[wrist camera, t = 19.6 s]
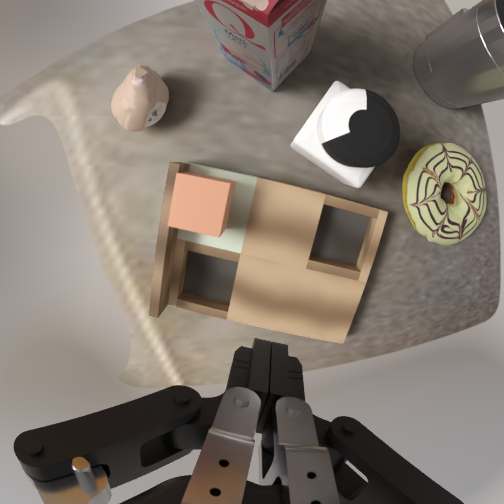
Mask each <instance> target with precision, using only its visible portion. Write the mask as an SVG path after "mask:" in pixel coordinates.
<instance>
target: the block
mask: <svg viewBox="0 0 504 504" xmlns="http://www.w3.org/2000/svg"><path fill="white" fill-rule="evenodd" d="M235 184H236V181H233V180H228V179H223V178H219V177H214V176H209V175H204V174H199V173H193V172H179V173H177V174H176V179H175V184H174V190H173V196H172V202H171V208H170V214H169V220H168V226H170V227H174V228H179V229H183V230H188V231H192V232H196V233H201V234H205V235H209V236H214V237H218V238H220V236H221V235H222V234H223V232H224V231H225V230H226V227H227V222H228V217H229V213H230V208H231V203H232V198H233V194H234V189H235Z"/></svg>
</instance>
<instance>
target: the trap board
mask: <svg viewBox="0 0 504 504" xmlns="http://www.w3.org/2000/svg"><path fill="white" fill-rule="evenodd" d="M179 172H193V173H199V174H204V175H209V176H214V177H219V178H223V179H228V180H233V181H236V184H235V189H234V194H233V198H232V203H231V208H230V213H229V217H228V222H227V227H226V230H225V231H224V232H223V234H222V235H221V236H220V238H218V237H214V236H209V235H205V234H201V233H196V232H192V231H188V230H183V229H179V228H174V227H170V226H168V220H169V214H170V208H171V202H172V196H173V190H174V184H175V179H176V174H177V173H179ZM387 214H388V212H387V211H384V210H382V209H380V208H376V207H373V206H370V205H366V204H363V203H359V202H356V201H352V200H349V199H345V198H342V197H338V196H334V195H331V194H327V193H323V192H319V191H315V190H311V189H308V188H304V187H300V186H296V185H292V184H287V183H283V182H279V181H275V180H270V179H266V178H262V177H257V176H253V175H248V174H244V173H239V172H234V171H229V170H224V169H220V168H215V167H209V166H204V165H199V164H194V163H188V162H170V164H169V169H168V175H167V180H166V186H165V192H164V198H163V204H162V210H161V217H160V224H159V231H158V238H157V245H156V253H155V262H154V270H153V280H152V289H151V300H150V312H149V316H153V317H156V318H158V317H159V316H160V314H161V313H162V312H163V310H164V309H165V308H166V306H167V305H168V304H169V305H172V306H176V307H179V308H183V309H187V310H191V311H195V312H198V313H202V314H206V315H210V316H214V317H218V318H222V319H226V320H231V321H235V322H239V323H243V324H248V325H252V326H256V327H261V328H265V329H270V330H275V331H279V332H284V333H289V334H294V335H299V336H304V337H309V338H314V339H319V340H325V341H330V342H336V343H342V344H343V343H344V340H345V338H346V335H347V333H348V330H349V328H350V325H351V323H352V320H353V317H354V315H355V312H356V310H357V307H358V304H359V301H360V299H361V296H362V293H363V290H364V288H365V285H366V282H367V279H368V276H369V273H370V270H371V267H372V264H373V261H374V258H375V255H376V252H377V248H378V245H379V242H380V239H381V235H382V232H383V228H384V225H385V221H386V218H387Z"/></svg>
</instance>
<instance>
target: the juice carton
mask: <svg viewBox="0 0 504 504" xmlns="http://www.w3.org/2000/svg"><path fill="white" fill-rule="evenodd" d="M195 1H196V3H197V5H198V7H199V9H200V11H201V12H202V14H203V16H204V18H205V20H206V22H207V24H208V25H209V27H210V29H211V31H212V33H213V35H214V37H215V39H216V41H217V43H218V44H219V46H220V48H221V50H222V52H223V54H224V56H225V58H226V59H227V60H229V61H230V62H232V63H233V64H235V65H236V66H237V67H239V68H240V69H242V70H243V71H245V72H246V73H247V74H249V75H250V76H252V77H253V78H254V79H256V80H257V81H258V82H260V83H261V84H263V85H264V86H265V87H267V88H268V89H269V90H270V91H272V92H273V91H274V90H275V89H276V88H277V87H278V86H279V85H280V84H281V83H282V82H283V80H284V79H285V78H286V77H287V76H288V75H289V74H290V73H291V72H292V71H293V70H294V69H295V68H296V67H297V66H298V65H299V64H300V63H301V62H302V61H303V60H304V59H305V58H306V57H307V56H308V55H309V54H310V53H311V50H312V47H313V43H314V40H315V37H316V33H317V30H318V27H319V23H320V20H321V17H322V13H323V10H324V7H325V4H326V0H195Z"/></svg>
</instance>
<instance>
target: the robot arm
mask: <svg viewBox="0 0 504 504" xmlns="http://www.w3.org/2000/svg"><path fill="white" fill-rule="evenodd" d="M414 69H415V73H416V76H417V79H418V81H419V83H420V85H421V86H422V88H423V89H424V91H425V92H426V93H427V94H428V96H429V97H430V98H431V99H433V100H434V101H435V102H436V103H438V104H440V105H441V106H443V107H446V108H449V109H460V108H465V107H469V106H473V105H478V104H482V103H487V102H491V101H496V100H501V99H504V0H482V1H481V2H479V3H478V4H477V5H475V6H474V7H472V8H471V9H469V10H468V9H461V10H460V11H459V12H457V13H456V14H455V15H453V16H452V17H451V18H449V19H448V20H447V21H445V22H444V23H443V24H441V25H440V26H439V27H438V28H436V29H435V30H434V31H432V32H431V33H430V34H428V35H427V41H425V42H424V43H423V44H421V45H420V46H419V48H418V49H417V51H416V53H415V56H414ZM302 373H303V372H302V365H301V363H300V362H299V360H298V359H297V358H296V357H291V356H288V345H285V344H281V343H276V342H271V341H266V340H261V339H257V338H255V339H254V342H253V346H252V348H247V347H243V346H241V347H240V348H238V349H237V350H236V351H235V354H234V358H233V362H232V366H231V370H230V374H229V378H228V383H227V388H226V390H225V392H224V393H223V394H221V395H219V396H217V397H212V398H201V396H200V394H199V393H198V392H197V391H195V390H194V389H192V388H190V387H187V386H181V385H176V386H171V387H169V388H166V389H163V390H160V391H158V392H155V393H152V394H149V395H147V396H144V397H141V398H138V399H135V400H133V401H129V402H126V403H124V404H120V405H117V406H114V407H111V408H108V409H105V410H102V411H99V412H95V413H92V414H89V415H85V416H82V417H78V418H75V419H71V420H68V421H64V422H61V423H57V424H53V425H49V426H45V427H41V428H37V429H33V430H29V431H25V432H23V433H21V434H20V435H19V436H18V437H17V438H16V439H15V442H14V451H15V454H16V456H17V458H18V460H19V461H20V463H21V465H22V468H23V470H24V472H25V473H26V475H27V477H28V478H29V479H30V481H31V482H32V484H33V486H34V487H35V488H36V489H37V490H38V492H39V494H40V496H41V498H42V500H43V502H44V504H107V503H108V502H109V501H110V499H111V488H114V487H117V486H119V485H122V484H124V483H127V482H129V481H132V480H134V479H136V478H138V477H141V476H143V475H145V474H148V473H150V472H152V471H154V470H156V469H159V468H161V467H163V466H165V465H167V464H169V463H171V462H173V461H175V460H177V459H179V458H181V457H183V456H185V455H187V454H189V453H190V452H191V451H192V450H193V449H202V450H201V452H200V455H199V458H198V461H197V463H196V466H195V468H194V471H193V473H192V475H187V476H180V477H175V478H172V479H169V480H166V481H164V482H162V483H160V484H158V485H156V486H155V487H153V488H151V489H149V490H147V491H145V492H143V493H141V494H139V495H137V496H135V497H133V498H130V499H128V500H126V501H124V502H122V503H120V504H464V503H463V502H462V501H461V500H459V499H458V498H456V497H455V496H454V495H452V494H451V493H449V492H448V491H447V490H445V489H444V488H442V487H441V486H440V485H438V484H437V483H436V482H434V481H433V480H432V479H430V478H429V477H428V476H426V475H425V474H424V473H422V472H421V471H420V470H419V469H417V468H416V467H414V466H413V465H412V464H411V463H409V462H408V461H407V460H405V459H404V458H403V457H402V456H400V455H399V454H398V453H397V452H395V451H394V450H393V449H392V448H390V447H389V446H388V445H387V444H386V443H384V442H383V441H382V440H380V439H379V438H378V437H377V436H375V435H374V434H373V433H372V432H371V431H370V430H368V429H367V428H366V427H365V426H363V425H362V424H361V423H360V422H359V421H357V420H355V419H353V418H351V417H346V416H341V417H337V418H335V419H334V420H333V421H332V422H329V421H327V420H324V419H321V418H319V417H317V416H315V415H313V414H312V410H311V408H310V406H309V405H308V404H307V403H306V402H305V394H304V383H303V375H302ZM255 430H256V433H261V434H262V440H261V443H260V445H259V449H258V456H259V485H258V484H255V483H253V482H250V481H247V476H248V471H249V467H250V462H251V458H252V453H253V448H254V443H255V440H253V439H254V434H255ZM347 460H348V461H349V462H350V463H351V464H353V465H354V466H355V467H356V468H357V469H358V470H359V471H360V472H362V473H363V474H364V475H365V476H366V477H367V479H368V482H366V481H365V480H364V479H363V478H362V477H360V476H359V475H358V474H357V473H356V472H355V471H354V470H353V469H351V468H350V467H349V466H348V465H347V464H346V461H347Z"/></svg>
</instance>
